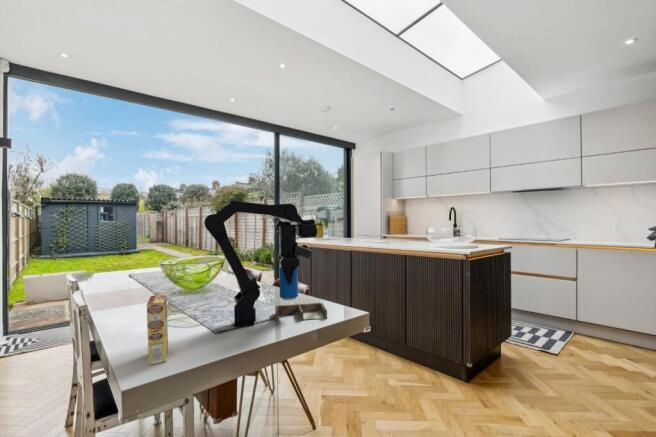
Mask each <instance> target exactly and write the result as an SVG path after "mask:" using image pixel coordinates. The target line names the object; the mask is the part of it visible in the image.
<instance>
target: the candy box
mask: <svg viewBox="0 0 656 437" xmlns="http://www.w3.org/2000/svg"><path fill="white" fill-rule="evenodd" d="M167 296H168V295H167V294H158V295H151V296H149V299H148V301H147V303H146V322H147V324H146V328H147V349H148V351H147V352H148V354H147V355H148V356H147V357H148V359H147V360H148V366H150V365H156V364H162V363H166V362H167V359H168V352H169V334H168V333H169V332H168V330H169V328H168V306H167V305H168V302H167V301H168V300H167V299H168V298H167Z"/></svg>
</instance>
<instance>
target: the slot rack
mask: <svg viewBox="0 0 656 437" xmlns="http://www.w3.org/2000/svg"><path fill="white" fill-rule="evenodd" d="M274 309H275V310H274V311H275V313H274V315H275V320H276V321H275V322H276V323H280V315H287V314H288V315H290V314H298V316H299V319H300V321H310V320H311V321H312V320H324V319H325V320H327V319H328V309H327V308H326V306H325V305H324V303H323V302H312V303H311V302H309V303H307V302H306V303H296V304H279V305H277V304H276V305H274Z"/></svg>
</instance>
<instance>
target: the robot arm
mask: <svg viewBox="0 0 656 437" xmlns="http://www.w3.org/2000/svg"><path fill="white" fill-rule="evenodd" d="M236 213H241V214H243V213H244V214H251V215H252V214H253V215H263V216H270V217H273V218H277V219H278V220H277V221H276V222H275V223H274V224H273V226H274V227H276V228H278V227H279V253H278V263H279V265H280V267H281V268H282V271H283V273H284V276H285V278H286V281H287V283H288V285H291V282H292V277H293V273H294V270H295V269H296V268H298V267H300V266H301V263H300V262H301V260H300V257H303V258H306V259H307V260H310V259H311V256H312V253H313V250H312V249H310V248H308V245H307V244H306V245H305V244H302V245H298V242H297V237H299V238H300V239H315V238H317V236H318V228H317V225H316V224H317V223H316V220H315V219H303V218H302V217H301V215H300V214H299V213H298V209H297V207H296V205H295V204H294V203H279V204H278V203H277V204H267V203H258V202H257V203H256V202H249V201H248V202H247V201H240V200H236V199H235V200H234V199H233V200H230V201H229V202H228V204H226V205H225V206H224V207H223V208H221V209H220V210H218V211H217V212H216V213H210V214H208V215H207V216H206V217H205V218H204V220H203V225H204V228H205V229H206V230H207V231H208V232H209V234H210V235H211V236H212V238H213V239H214V240H215V241H216V242H217V244H218V246H219V248H220V250H221V252H222V254H223V255H224V258H225V259H226V262H227V263H228V265H229V267H230V268H231V270H232V273H233V275H234V277H235V279H236V282H237V285H238V289H239V291H238V293H236V294H235V296H234V297H233V300H234V302H235V304H234V307H233V308H234V309H233V310H234V311H233V313H234V314H233V316H234V324H233V327H235V328H237V327H246V326H247V327H249V326H250V327H251V326H252V327H253V326H255V323H256V320H257V317H256V313H257V312H256V307H255V303H256V301H257V300H258V299H259V298H260V294H261V291H260V289H261V286H260V285H259V284H258V282H257V279H256V276H254V274H251V275H249V274H248V273H247V271H246V269H245V267H244V265H243V263H242V262H241V259H240V258H239V255H238V253H237V252H236V251H235V248H234V246H233V245H232V242H231V241H230V238H229V237H228V233H227V229H226V226H225V225H226V224H225V222H227V221H228V220H229V219H230V218H231V217H233V215H235V214H236ZM282 220H286V221H282ZM292 223H296V224H292Z"/></svg>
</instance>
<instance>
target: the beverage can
mask: <svg viewBox="0 0 656 437" xmlns="http://www.w3.org/2000/svg"><path fill="white" fill-rule="evenodd" d="M298 271H299V270H298V267H297V268H296V269H295V270H294V273H293V277H292V282H291V285H288V283H287V281H286V278H285V276H284V273H283V271H282V268H281V266H280V267H279V271H278V272H279V298H280V299H282V300H283V301H293V300H295V299H297V298H298V296H299V275H298V274H299V273H298Z"/></svg>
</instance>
